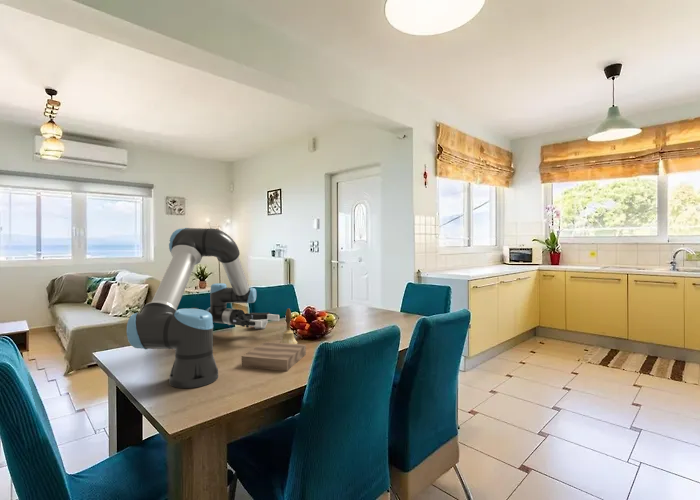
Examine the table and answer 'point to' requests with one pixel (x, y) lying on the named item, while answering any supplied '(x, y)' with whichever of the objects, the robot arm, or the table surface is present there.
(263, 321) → the die
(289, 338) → the hand bell
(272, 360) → the walnut plinth
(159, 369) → the table surface
